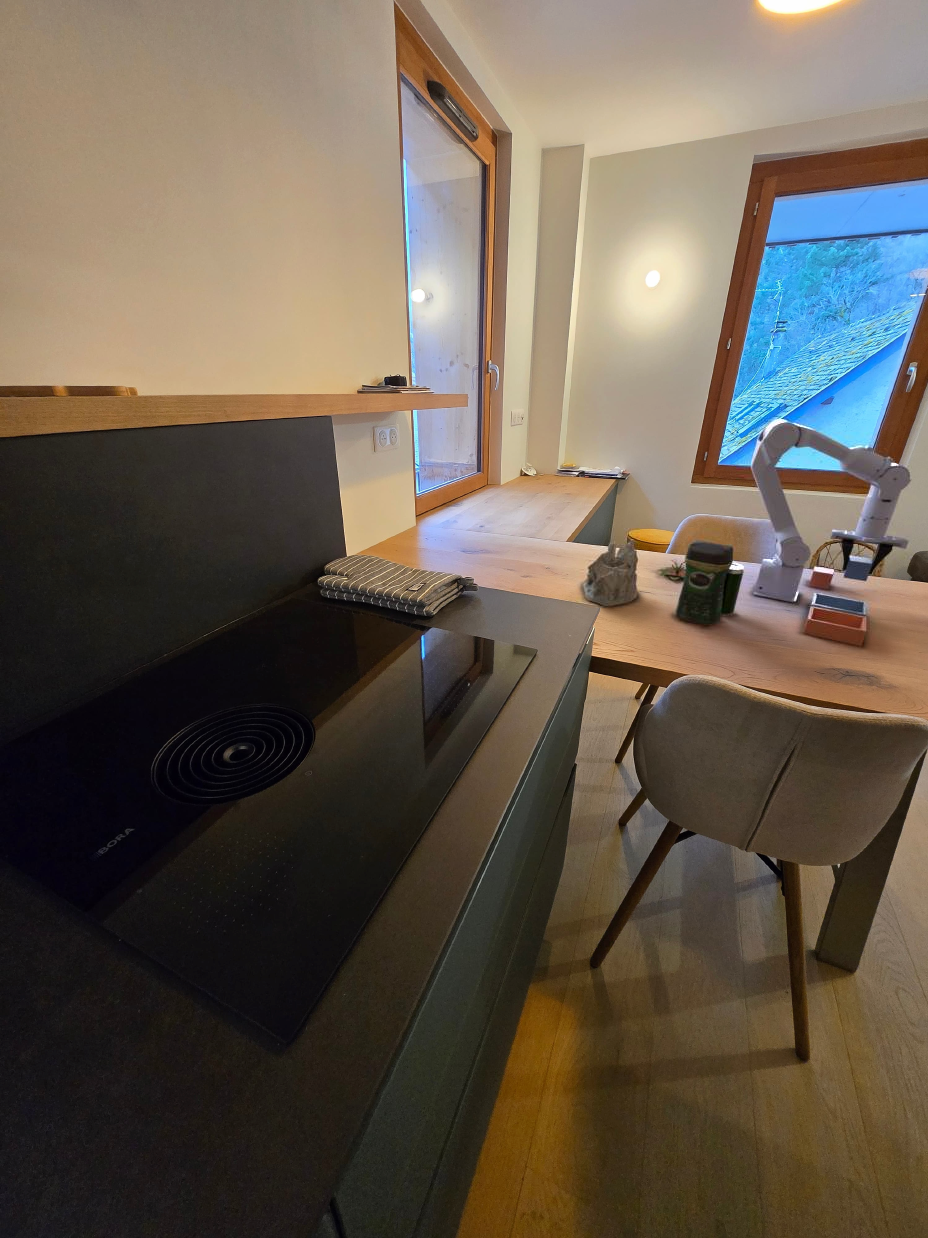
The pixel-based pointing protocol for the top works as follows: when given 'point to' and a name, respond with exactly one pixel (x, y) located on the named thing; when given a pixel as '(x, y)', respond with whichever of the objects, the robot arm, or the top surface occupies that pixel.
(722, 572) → the coffee jar
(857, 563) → the blue block
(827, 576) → the terracotta block
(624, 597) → the grey jagged hollow piece
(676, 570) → the lily flower
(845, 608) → the blue bin
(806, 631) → the terracotta bin
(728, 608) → the beer can
